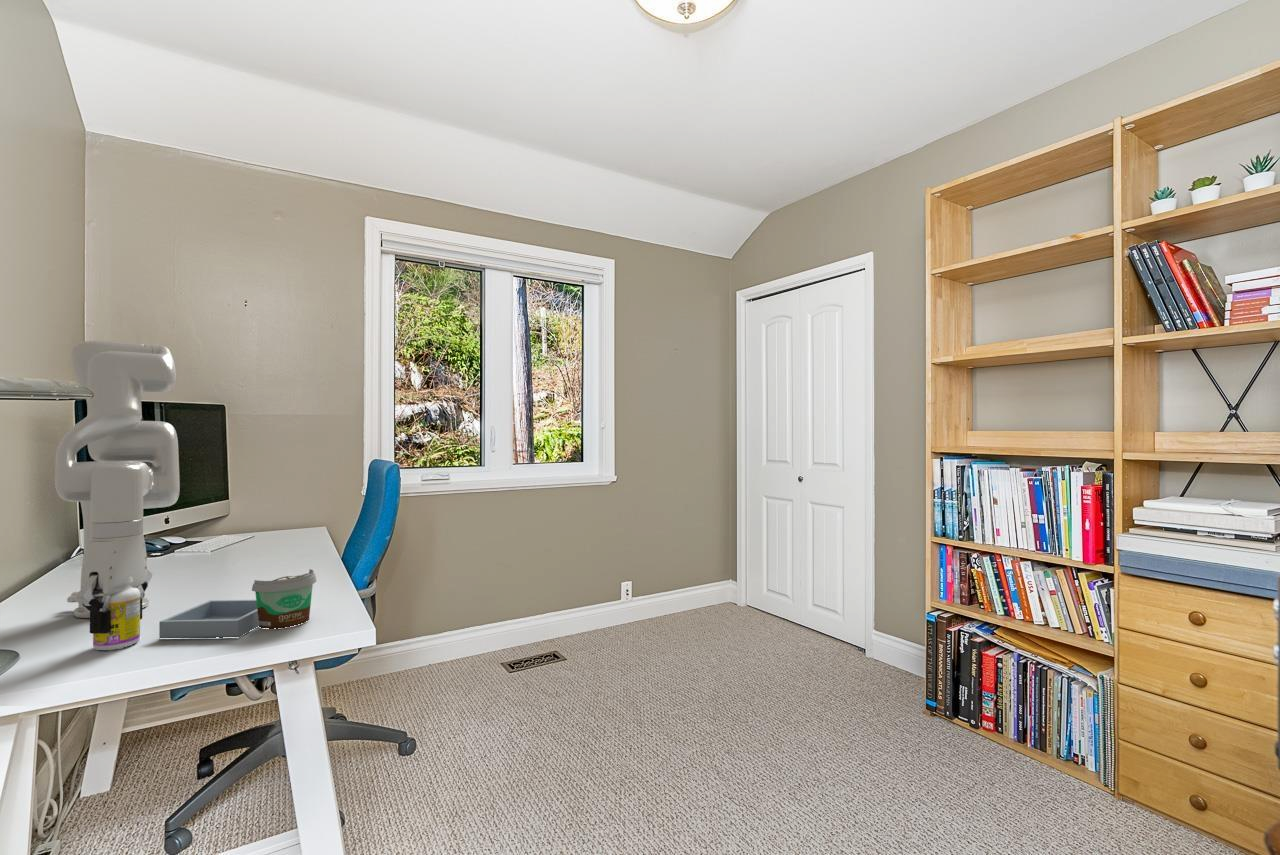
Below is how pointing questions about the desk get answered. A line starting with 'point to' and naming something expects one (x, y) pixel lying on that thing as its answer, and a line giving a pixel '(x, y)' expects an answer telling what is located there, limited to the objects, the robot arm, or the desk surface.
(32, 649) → the desk surface
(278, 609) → the food container
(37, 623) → the desk surface
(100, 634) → the supplement bottle
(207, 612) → the tray
